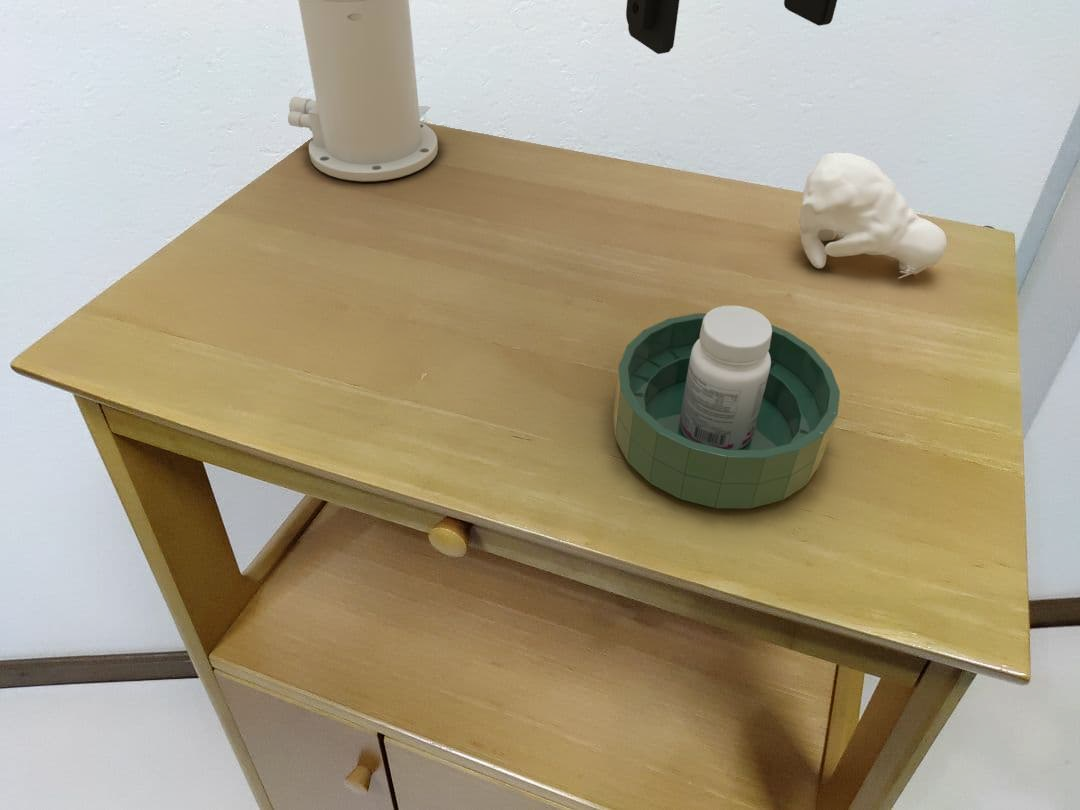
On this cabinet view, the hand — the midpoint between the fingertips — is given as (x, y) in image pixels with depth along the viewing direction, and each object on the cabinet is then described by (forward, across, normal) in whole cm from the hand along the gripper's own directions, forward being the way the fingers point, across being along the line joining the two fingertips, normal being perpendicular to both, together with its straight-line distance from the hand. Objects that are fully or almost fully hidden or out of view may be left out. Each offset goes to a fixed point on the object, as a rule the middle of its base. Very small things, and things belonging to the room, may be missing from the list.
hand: (730, 29), depth 42 cm
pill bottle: (+23, +1, +6) cm, 24 cm away
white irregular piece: (+24, -22, -5) cm, 33 cm away
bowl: (+23, +1, +7) cm, 24 cm away
